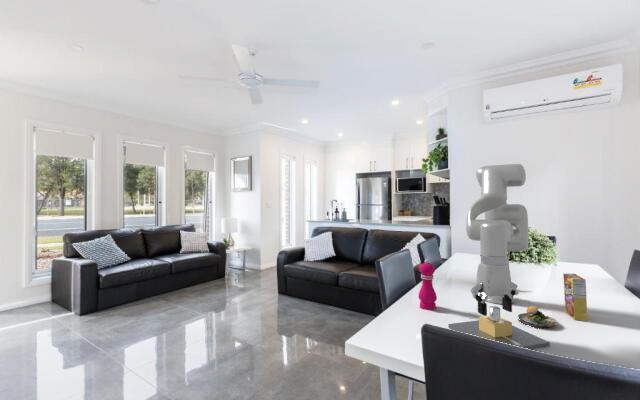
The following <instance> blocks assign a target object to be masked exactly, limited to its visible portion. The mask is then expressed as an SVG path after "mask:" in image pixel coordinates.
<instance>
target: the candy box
mask: <svg viewBox="0 0 640 400" xmlns="http://www.w3.org/2000/svg"><path fill="white" fill-rule="evenodd" d="M586 280H587V279H585V278H583V277H581V276H580V275H577V274H576V273H563V287H564V288H563V289H564V290H563V291H564V293H563V294H564V308H565V310H564V311H565V313H566V314H567V315H569V316H570V317H571V318H572V319H573V320H574V321H580V322H588V307H587V306H588V303H587V283H586V282H587V281H586Z"/></svg>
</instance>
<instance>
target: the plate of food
mask: <svg viewBox="0 0 640 400" xmlns="http://www.w3.org/2000/svg"><path fill="white" fill-rule="evenodd" d="M527 303H528V305H529V306H528V307H527V308H526V312H524V313H519V314H518V315H517V317H518V319H517V321H518V322H519V323H520V322H521V323H520V324H522V323H523V324H522V325H524V324H525V325H524V326H526V325H529V326H531V327H530V328H533V327H534V328H533V329H538V328H539V329H538V330H542V328H543V327H546V328H548V327H549V328H550V327H554V326H556V325H558V323H559V321H557V319H554V318H553V317H551V316H548V315H545V314H544V313H543V312H542V311H540V310H539V306H536V305H530V303H529V301H528V302H527ZM519 319H520V320H519ZM529 326H528V327H529Z"/></svg>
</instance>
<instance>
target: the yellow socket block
mask: <svg viewBox="0 0 640 400" xmlns="http://www.w3.org/2000/svg"><path fill="white" fill-rule="evenodd" d="M478 320H479V330H481V331H483V332H485V333H487V334H489V335H491V336H493V337H503V336H510V335H512V326H513V322H512V321H509V320H507V319H505V318H502V317H500V320H499V322H496V323H494V322H492V321H490V315H486V316H479V317H478Z"/></svg>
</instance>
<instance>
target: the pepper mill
mask: <svg viewBox="0 0 640 400" xmlns="http://www.w3.org/2000/svg"><path fill="white" fill-rule="evenodd" d="M435 271H436V269H435V266H434V265H433V263H430V260H429V259H428V258H426V259H425V260H424V263H422V264H420V265H419V272H420V273H421V274H420V279H421V280H422V281H421V283H422V284H421V286H420V289H419V291H418V296H417V297H418V299H419V308H421V309H422V310H425V311H426V310H427V311H433V310H435V309H436V306H437V305H436V303H435V302H436V301H437V293H436V291H435V288H434V287H433V280H434V273H435Z"/></svg>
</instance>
